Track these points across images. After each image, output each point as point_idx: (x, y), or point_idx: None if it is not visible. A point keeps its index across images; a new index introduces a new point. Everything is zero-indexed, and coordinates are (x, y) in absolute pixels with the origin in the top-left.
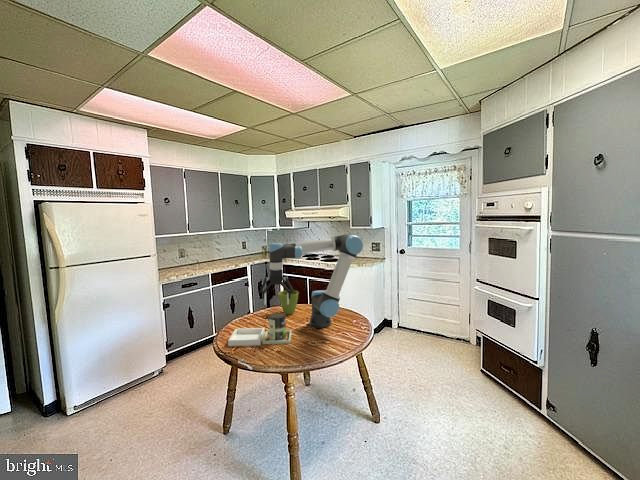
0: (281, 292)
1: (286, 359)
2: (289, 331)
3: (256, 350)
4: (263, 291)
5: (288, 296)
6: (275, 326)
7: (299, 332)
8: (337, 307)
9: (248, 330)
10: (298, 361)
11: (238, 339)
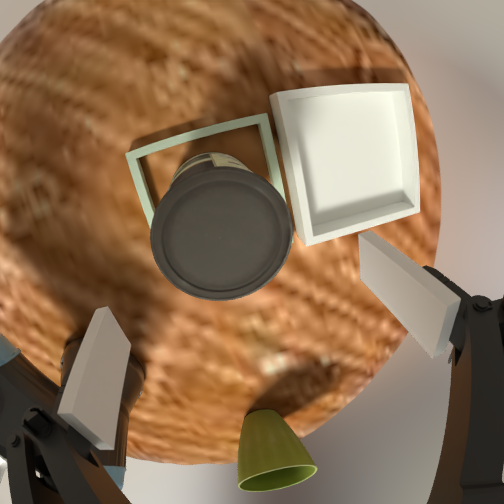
0: (308, 473)
1: (103, 11)
2: None
3: (265, 48)
4: (495, 321)
5: (72, 383)
6: (209, 161)
7: (136, 282)
8: None
9: (371, 216)
10: (58, 19)
11: (382, 142)
